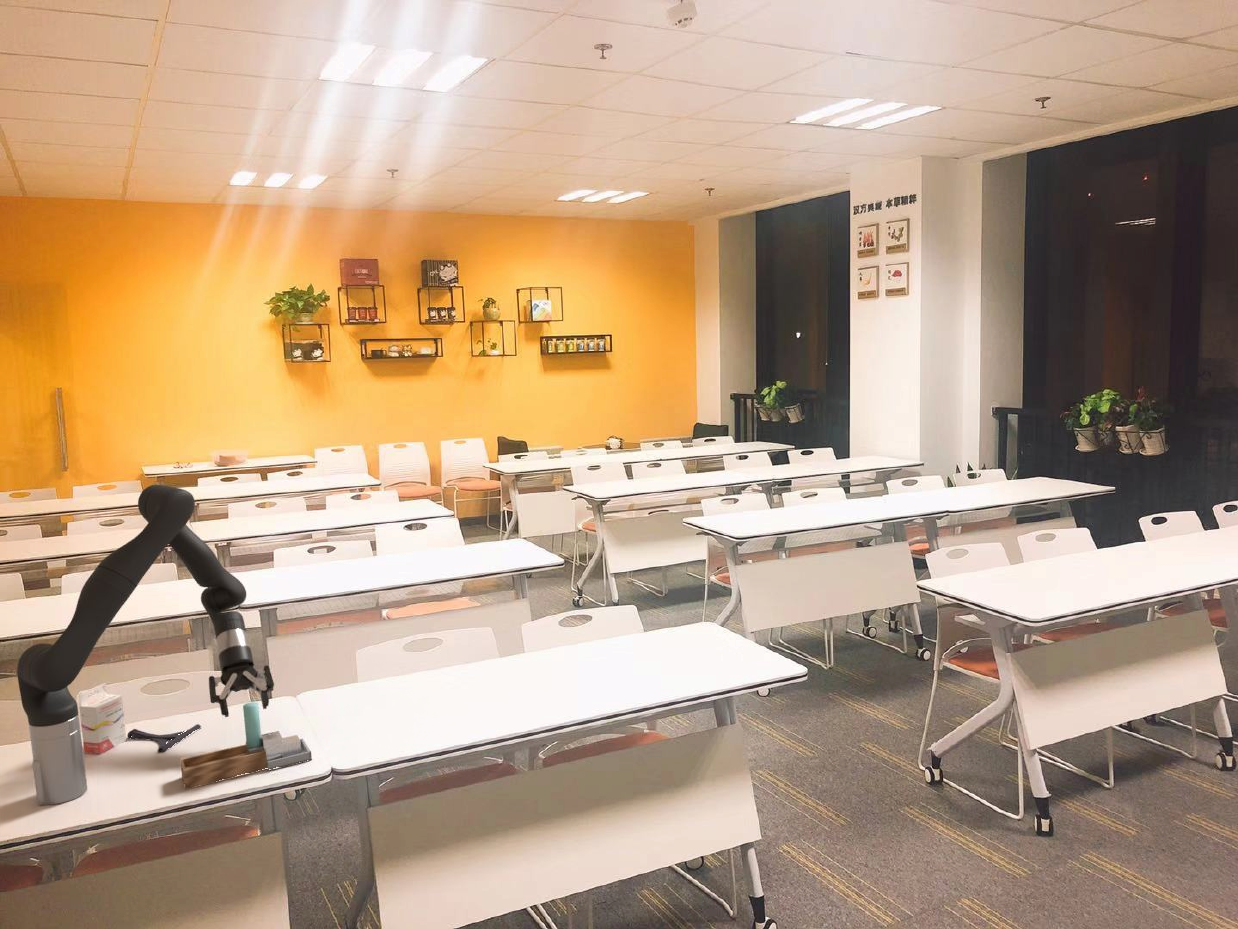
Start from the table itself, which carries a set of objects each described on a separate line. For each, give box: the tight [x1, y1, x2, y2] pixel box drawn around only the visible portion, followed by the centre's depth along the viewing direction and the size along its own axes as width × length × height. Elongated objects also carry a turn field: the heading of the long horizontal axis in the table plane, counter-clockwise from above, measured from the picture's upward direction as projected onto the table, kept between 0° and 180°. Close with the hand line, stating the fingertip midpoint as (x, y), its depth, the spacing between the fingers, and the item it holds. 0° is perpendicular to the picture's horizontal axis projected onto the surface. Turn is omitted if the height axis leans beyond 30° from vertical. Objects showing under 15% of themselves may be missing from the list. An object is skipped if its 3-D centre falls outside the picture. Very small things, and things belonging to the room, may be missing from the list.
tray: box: [267, 738, 313, 771], centre depth 219 cm, size 10×9×2 cm
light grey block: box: [261, 730, 283, 757], centre depth 217 cm, size 4×4×4 cm
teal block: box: [242, 701, 264, 755], centre depth 215 cm, size 3×5×12 cm, turn 30°
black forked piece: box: [126, 723, 202, 753], centre depth 234 cm, size 14×15×3 cm
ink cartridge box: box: [78, 682, 127, 755], centre depth 230 cm, size 9×5×15 cm, turn 164°
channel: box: [179, 743, 268, 790], centre depth 213 cm, size 17×7×4 cm, turn 120°
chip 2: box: [280, 734, 301, 758], centre depth 219 cm, size 4×4×4 cm
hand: (246, 711), depth 225 cm, fingers open, 8 cm apart
